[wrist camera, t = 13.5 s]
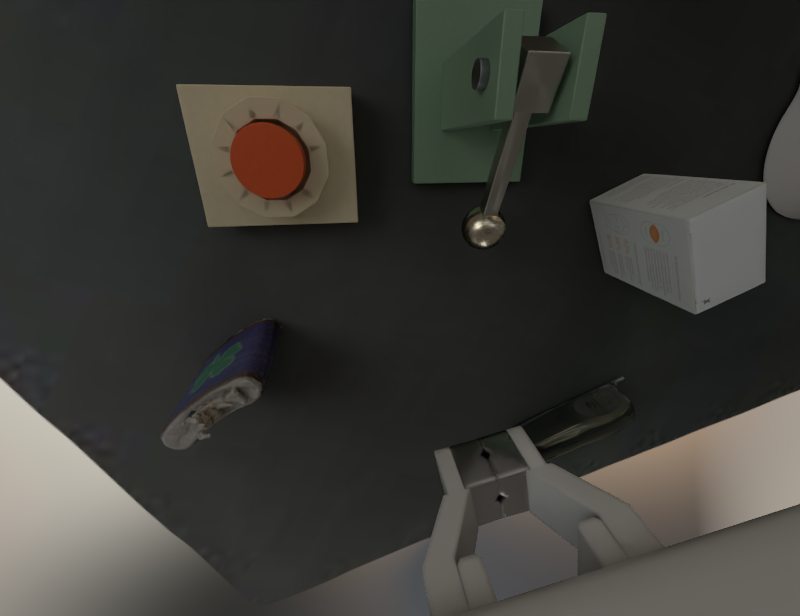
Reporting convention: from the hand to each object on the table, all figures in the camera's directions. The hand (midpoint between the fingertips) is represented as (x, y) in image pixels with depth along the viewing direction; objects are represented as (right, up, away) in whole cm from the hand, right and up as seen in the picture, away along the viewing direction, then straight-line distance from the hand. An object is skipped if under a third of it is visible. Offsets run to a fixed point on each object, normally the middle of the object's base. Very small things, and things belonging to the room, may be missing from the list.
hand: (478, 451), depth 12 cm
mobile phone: (+17, -7, +31) cm, 36 cm away
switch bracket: (+3, +21, +16) cm, 26 cm away
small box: (+19, +13, +22) cm, 32 cm away
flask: (-18, +1, +22) cm, 28 cm away
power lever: (+4, +15, +12) cm, 19 cm away
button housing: (-12, +16, +15) cm, 25 cm away
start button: (-11, +15, +12) cm, 22 cm away
